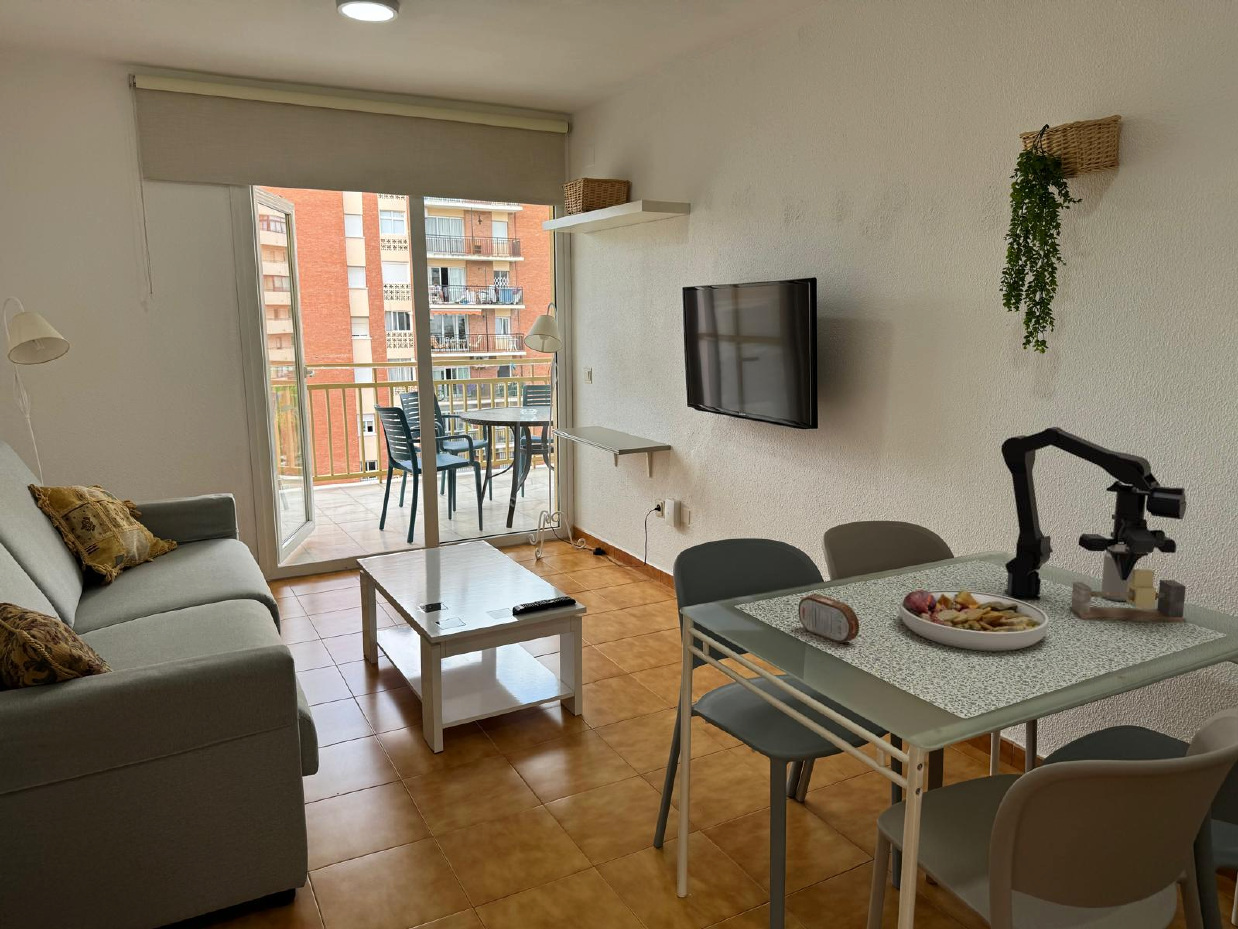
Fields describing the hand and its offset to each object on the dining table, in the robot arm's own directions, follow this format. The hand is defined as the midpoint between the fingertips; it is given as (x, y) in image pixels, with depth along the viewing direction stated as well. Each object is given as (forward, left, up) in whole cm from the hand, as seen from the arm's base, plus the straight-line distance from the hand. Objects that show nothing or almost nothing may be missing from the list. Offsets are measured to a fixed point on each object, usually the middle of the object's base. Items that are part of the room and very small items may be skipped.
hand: (1123, 580), depth 198 cm
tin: (-69, -20, -9) cm, 72 cm away
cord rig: (+1, 0, -8) cm, 8 cm away
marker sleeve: (+4, 0, -6) cm, 7 cm away
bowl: (-37, -13, -9) cm, 40 cm away
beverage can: (+5, +14, -9) cm, 17 cm away
